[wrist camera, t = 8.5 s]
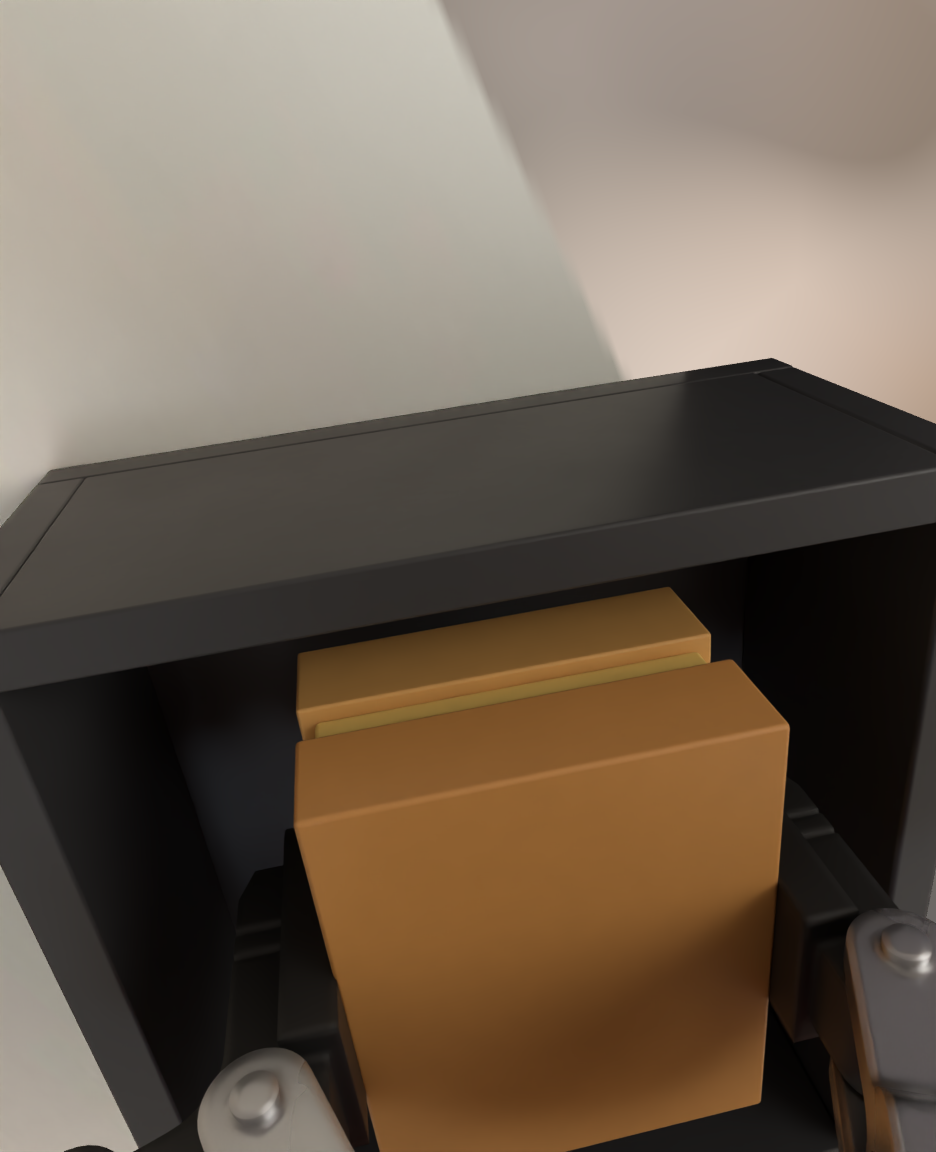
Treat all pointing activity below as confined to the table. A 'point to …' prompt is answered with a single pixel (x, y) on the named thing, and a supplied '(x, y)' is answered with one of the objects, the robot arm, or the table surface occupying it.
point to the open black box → (423, 602)
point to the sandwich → (544, 872)
